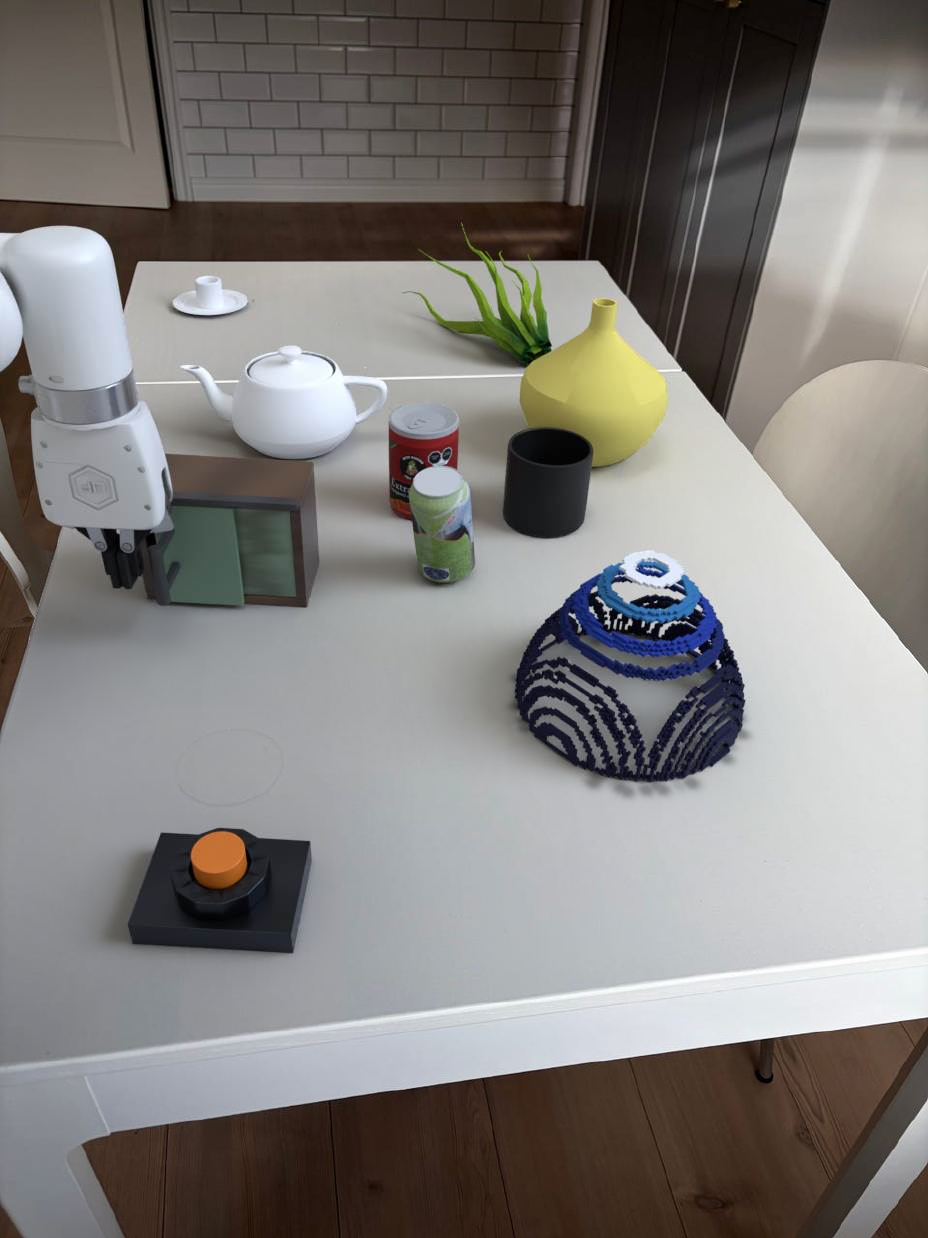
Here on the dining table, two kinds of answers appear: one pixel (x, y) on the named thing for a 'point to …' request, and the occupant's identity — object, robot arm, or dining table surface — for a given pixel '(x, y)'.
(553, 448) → the mug
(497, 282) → the decorative plant
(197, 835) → the switch block
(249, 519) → the closet
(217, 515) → the closet door
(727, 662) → the decorative bowl
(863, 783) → the dining table surface
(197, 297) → the candle holder
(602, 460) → the vase
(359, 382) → the teapot
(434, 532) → the beverage can
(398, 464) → the canned food
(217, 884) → the button
